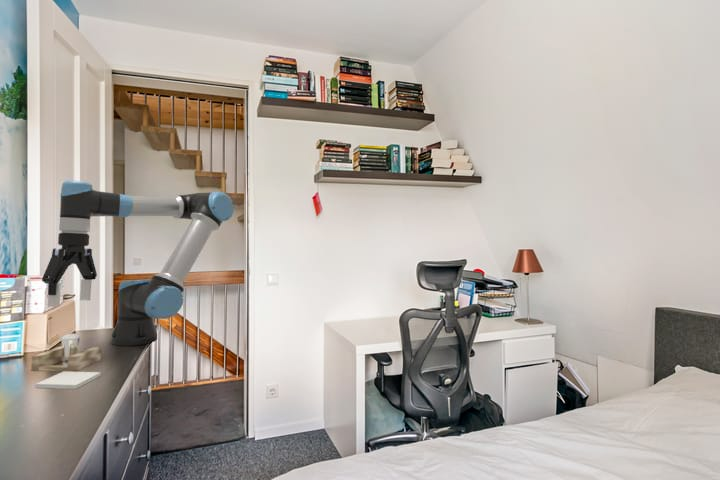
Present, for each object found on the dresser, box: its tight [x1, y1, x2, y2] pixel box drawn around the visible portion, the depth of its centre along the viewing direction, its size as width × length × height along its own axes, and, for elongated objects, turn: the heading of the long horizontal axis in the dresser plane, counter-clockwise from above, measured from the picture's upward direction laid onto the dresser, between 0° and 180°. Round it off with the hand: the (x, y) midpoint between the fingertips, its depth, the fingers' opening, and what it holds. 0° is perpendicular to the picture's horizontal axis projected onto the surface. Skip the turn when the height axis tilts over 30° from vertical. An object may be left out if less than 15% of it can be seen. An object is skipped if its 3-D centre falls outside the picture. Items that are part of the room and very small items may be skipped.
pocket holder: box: [30, 345, 102, 372], centre depth 118 cm, size 12×12×4 cm
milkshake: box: [58, 332, 81, 366], centre depth 119 cm, size 5×5×10 cm
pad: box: [34, 371, 102, 390], centre depth 105 cm, size 10×10×1 cm
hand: (70, 303), depth 119 cm, fingers open, 13 cm apart
